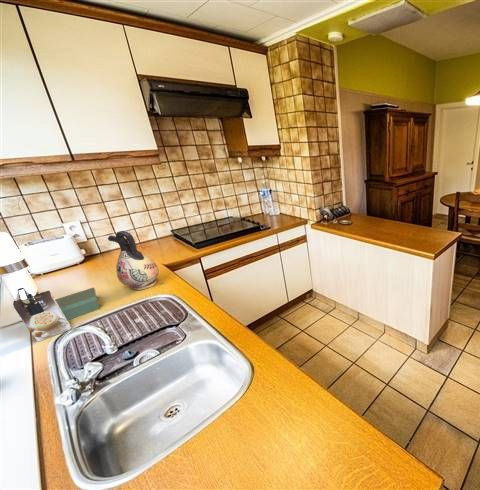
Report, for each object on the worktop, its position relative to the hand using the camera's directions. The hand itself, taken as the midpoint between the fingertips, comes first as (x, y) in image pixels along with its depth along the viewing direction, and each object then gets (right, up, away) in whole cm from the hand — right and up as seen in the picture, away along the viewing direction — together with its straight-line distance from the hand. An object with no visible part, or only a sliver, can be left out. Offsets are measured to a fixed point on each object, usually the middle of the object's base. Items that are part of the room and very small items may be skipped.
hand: (38, 309), depth 99 cm
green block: (-5, -5, +17) cm, 18 cm away
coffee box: (+1, -10, +4) cm, 11 cm away
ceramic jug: (+11, +3, +34) cm, 36 cm away
